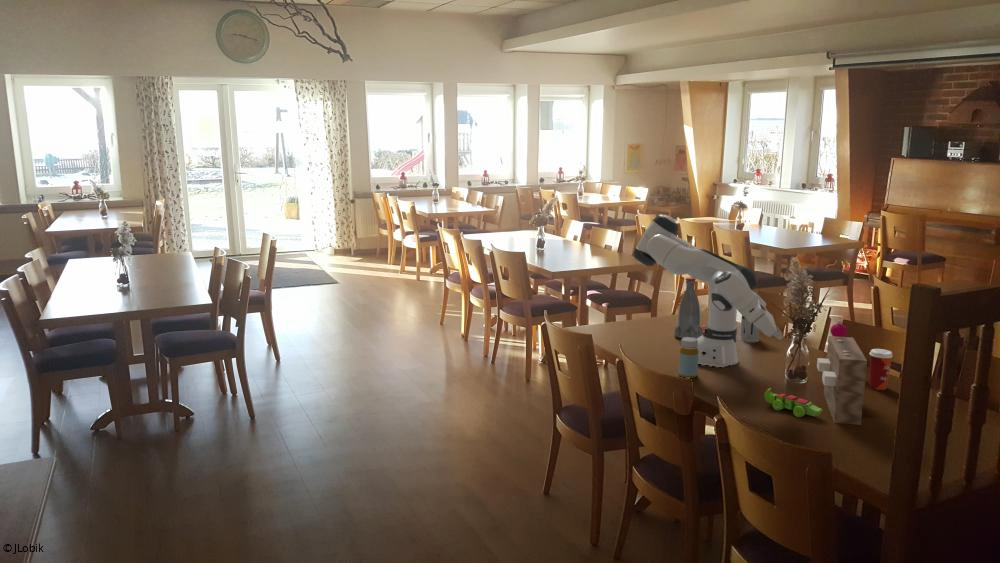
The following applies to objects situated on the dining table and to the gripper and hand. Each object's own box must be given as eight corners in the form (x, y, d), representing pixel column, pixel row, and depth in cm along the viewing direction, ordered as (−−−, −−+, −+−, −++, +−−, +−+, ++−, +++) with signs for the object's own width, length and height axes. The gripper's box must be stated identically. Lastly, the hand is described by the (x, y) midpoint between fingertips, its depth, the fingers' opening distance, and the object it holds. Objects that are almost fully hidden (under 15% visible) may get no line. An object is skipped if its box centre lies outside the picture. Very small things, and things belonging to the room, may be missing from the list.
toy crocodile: (824, 417, 244) (826, 400, 243) (814, 422, 240) (816, 405, 239) (771, 401, 259) (772, 384, 258) (760, 405, 255) (761, 389, 254)
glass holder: (761, 338, 331) (763, 306, 328) (753, 346, 320) (755, 313, 316) (742, 335, 336) (743, 304, 333) (733, 343, 324) (735, 311, 321)
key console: (834, 422, 240) (839, 357, 235) (823, 394, 264) (828, 335, 259) (860, 424, 237) (867, 359, 233) (847, 396, 262) (853, 336, 257)
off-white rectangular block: (824, 385, 241) (824, 376, 241) (821, 379, 246) (822, 370, 246) (843, 386, 240) (844, 377, 239) (841, 381, 245) (842, 372, 244)
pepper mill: (847, 372, 286) (851, 323, 281) (827, 371, 287) (831, 322, 283) (842, 366, 293) (847, 318, 288) (823, 365, 294) (827, 317, 290)
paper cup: (888, 392, 264) (892, 355, 261) (865, 388, 268) (868, 352, 265) (890, 385, 271) (894, 350, 268) (867, 382, 275) (870, 346, 272)
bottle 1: (705, 341, 329) (708, 280, 323) (677, 341, 329) (679, 281, 323) (698, 333, 341) (701, 274, 335) (671, 333, 341) (673, 275, 335)
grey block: (818, 371, 254) (819, 362, 254) (816, 366, 259) (817, 358, 259) (837, 372, 253) (838, 364, 252) (835, 367, 258) (835, 359, 257)
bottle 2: (687, 380, 280) (688, 343, 277) (675, 374, 286) (676, 338, 283) (701, 377, 283) (702, 340, 280) (688, 371, 289) (690, 335, 286)
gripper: (745, 307, 270) (771, 334, 269) (747, 321, 250) (775, 350, 250) (759, 295, 267) (785, 323, 267) (761, 310, 248) (790, 339, 248)
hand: (780, 336), depth 258 cm, fingers open, 3 cm apart
